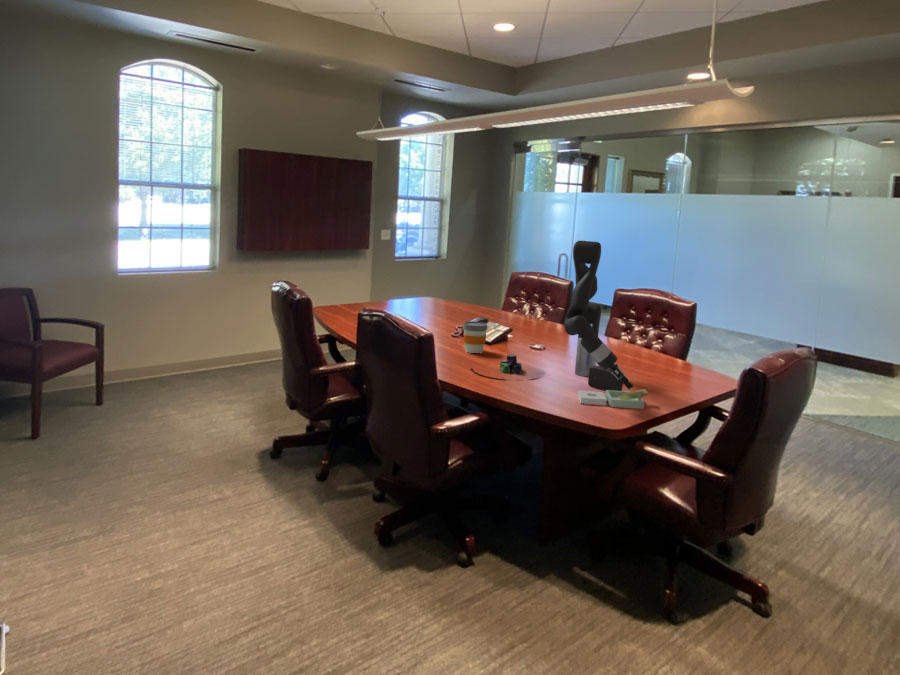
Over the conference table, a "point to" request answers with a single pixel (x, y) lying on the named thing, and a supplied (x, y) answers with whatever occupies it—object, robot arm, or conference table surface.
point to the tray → (616, 402)
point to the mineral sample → (511, 365)
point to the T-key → (633, 394)
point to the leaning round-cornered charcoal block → (603, 379)
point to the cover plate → (592, 397)
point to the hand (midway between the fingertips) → (628, 384)
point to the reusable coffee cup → (474, 336)
